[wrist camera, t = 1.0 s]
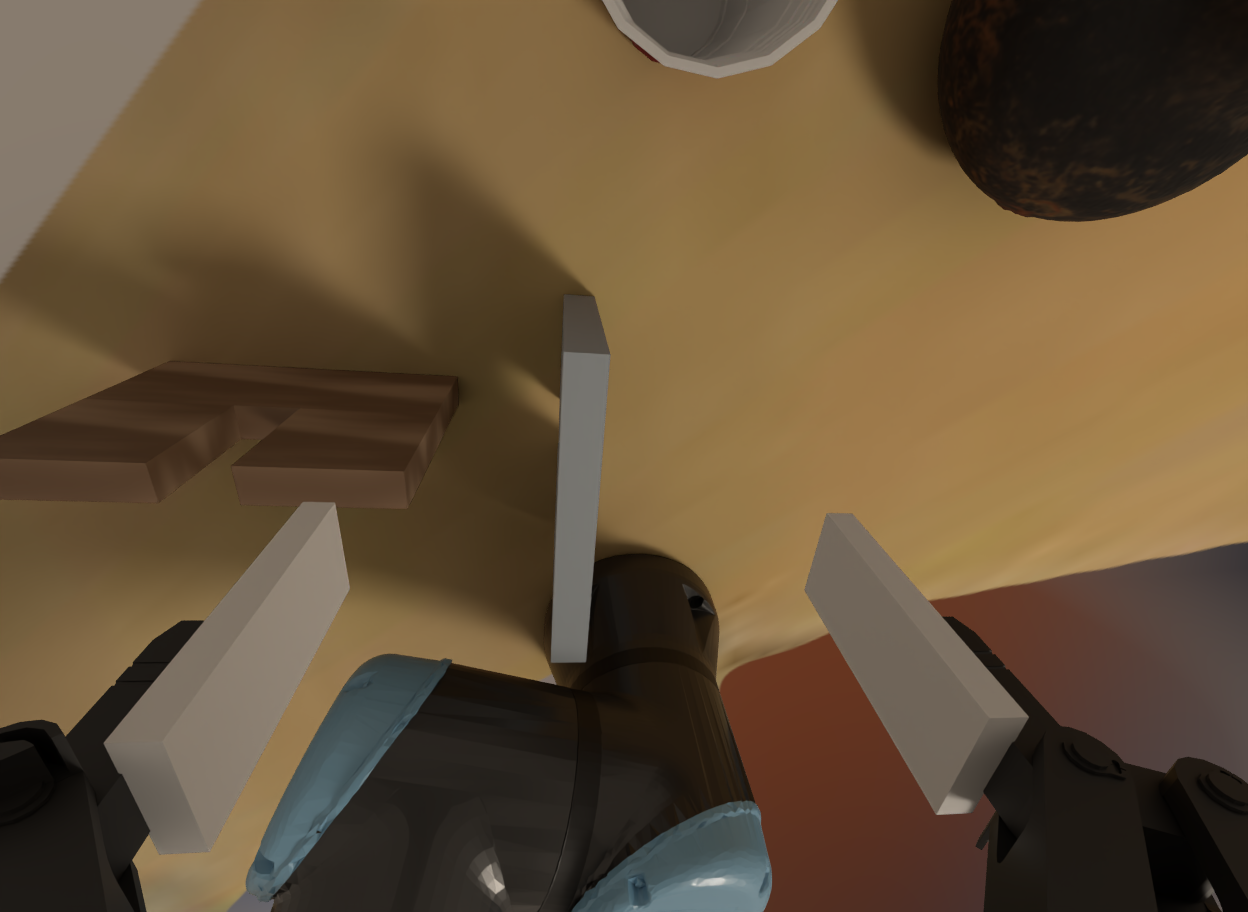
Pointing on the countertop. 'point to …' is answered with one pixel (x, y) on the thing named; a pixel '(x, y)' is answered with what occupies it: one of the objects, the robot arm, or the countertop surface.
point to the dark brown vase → (1094, 100)
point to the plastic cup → (718, 31)
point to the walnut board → (237, 436)
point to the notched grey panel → (578, 474)
